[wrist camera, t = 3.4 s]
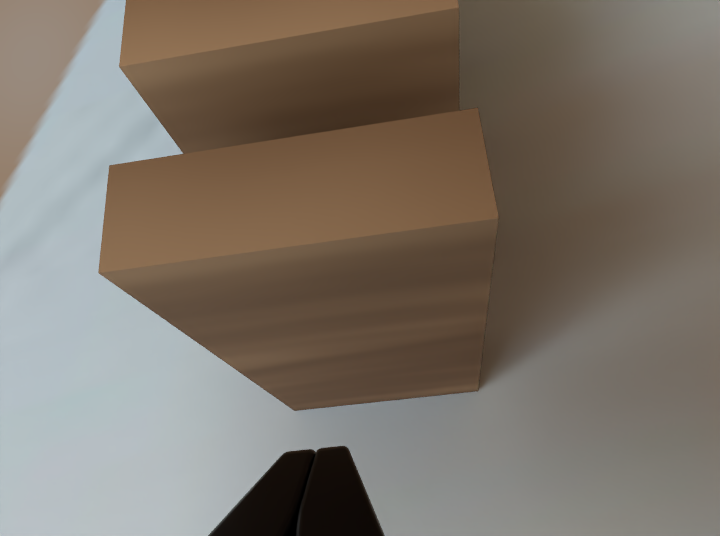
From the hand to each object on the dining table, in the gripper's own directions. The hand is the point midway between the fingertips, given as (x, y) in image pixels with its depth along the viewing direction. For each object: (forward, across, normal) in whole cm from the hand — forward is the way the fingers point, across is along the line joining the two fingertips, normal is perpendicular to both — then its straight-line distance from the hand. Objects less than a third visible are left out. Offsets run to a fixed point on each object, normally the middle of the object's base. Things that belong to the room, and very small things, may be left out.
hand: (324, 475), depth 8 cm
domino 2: (+8, 0, +4) cm, 9 cm away
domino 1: (+10, 0, +1) cm, 11 cm away
